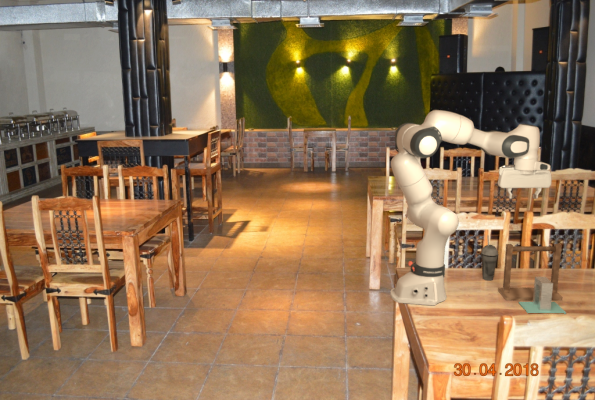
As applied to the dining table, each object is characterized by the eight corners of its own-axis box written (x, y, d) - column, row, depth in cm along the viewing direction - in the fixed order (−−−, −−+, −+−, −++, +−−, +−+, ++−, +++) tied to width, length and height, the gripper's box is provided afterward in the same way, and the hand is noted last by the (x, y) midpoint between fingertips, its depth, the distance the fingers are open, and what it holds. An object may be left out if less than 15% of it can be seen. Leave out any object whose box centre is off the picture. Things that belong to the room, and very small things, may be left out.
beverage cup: (497, 282, 233) (500, 238, 229) (480, 281, 235) (483, 237, 230) (495, 276, 240) (498, 233, 236) (478, 275, 242) (480, 232, 237)
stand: (506, 300, 214) (510, 248, 209) (498, 290, 224) (501, 241, 219) (562, 300, 213) (567, 248, 208) (551, 290, 223) (556, 240, 218)
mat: (528, 313, 202) (528, 312, 202) (518, 303, 212) (518, 301, 211) (566, 314, 201) (566, 312, 201) (554, 303, 211) (554, 301, 211)
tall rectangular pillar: (539, 310, 203) (542, 283, 201) (532, 303, 210) (535, 276, 207) (550, 310, 203) (553, 283, 200) (543, 303, 210) (545, 276, 207)
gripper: (501, 166, 211) (499, 200, 214) (554, 165, 210) (551, 200, 213) (496, 163, 217) (494, 197, 220) (548, 163, 216) (545, 196, 220)
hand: (523, 198), depth 217 cm, fingers open, 8 cm apart
